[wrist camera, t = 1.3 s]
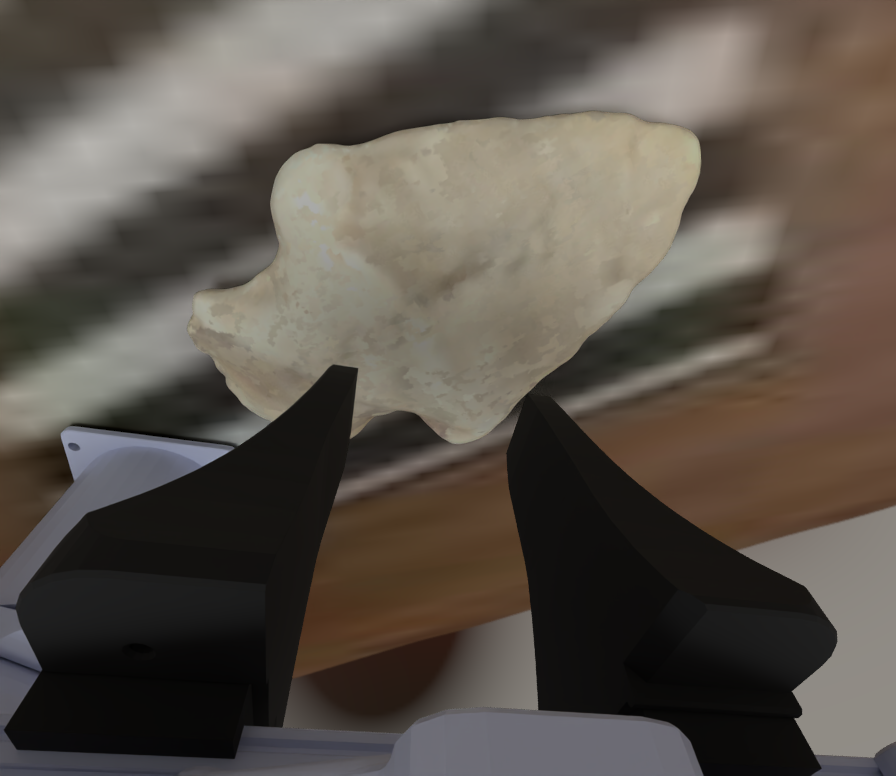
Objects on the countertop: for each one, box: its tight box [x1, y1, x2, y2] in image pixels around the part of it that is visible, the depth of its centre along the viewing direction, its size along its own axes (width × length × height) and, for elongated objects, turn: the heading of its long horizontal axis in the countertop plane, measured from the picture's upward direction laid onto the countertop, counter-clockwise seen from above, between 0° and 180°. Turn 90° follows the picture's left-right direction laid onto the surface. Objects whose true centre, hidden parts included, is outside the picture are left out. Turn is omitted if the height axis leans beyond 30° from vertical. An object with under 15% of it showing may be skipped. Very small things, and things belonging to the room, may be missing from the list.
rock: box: [187, 111, 701, 444], centre depth 19 cm, size 4×13×20 cm
